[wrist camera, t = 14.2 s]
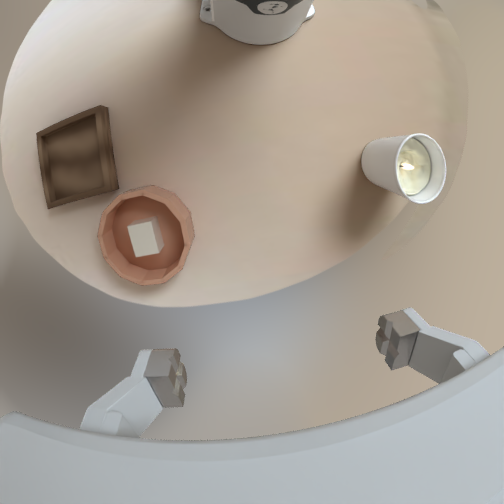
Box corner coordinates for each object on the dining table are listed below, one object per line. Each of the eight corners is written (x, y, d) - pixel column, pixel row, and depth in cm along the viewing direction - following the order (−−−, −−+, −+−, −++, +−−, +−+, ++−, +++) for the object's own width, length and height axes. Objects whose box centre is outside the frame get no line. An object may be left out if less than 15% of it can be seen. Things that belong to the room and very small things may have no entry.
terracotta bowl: (103, 196, 40) (89, 202, 35) (184, 179, 40) (178, 182, 35) (123, 275, 45) (113, 288, 40) (200, 265, 45) (197, 278, 41)
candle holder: (398, 193, 43) (440, 209, 32) (353, 185, 42) (390, 198, 31) (405, 141, 40) (449, 144, 29) (359, 128, 39) (399, 124, 28)
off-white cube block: (134, 220, 41) (127, 226, 37) (157, 215, 41) (150, 221, 37) (142, 249, 42) (135, 257, 39) (164, 245, 43) (159, 253, 39)
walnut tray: (45, 133, 34) (36, 133, 31) (108, 107, 34) (100, 105, 32) (56, 205, 39) (47, 209, 36) (119, 188, 40) (111, 191, 37)
